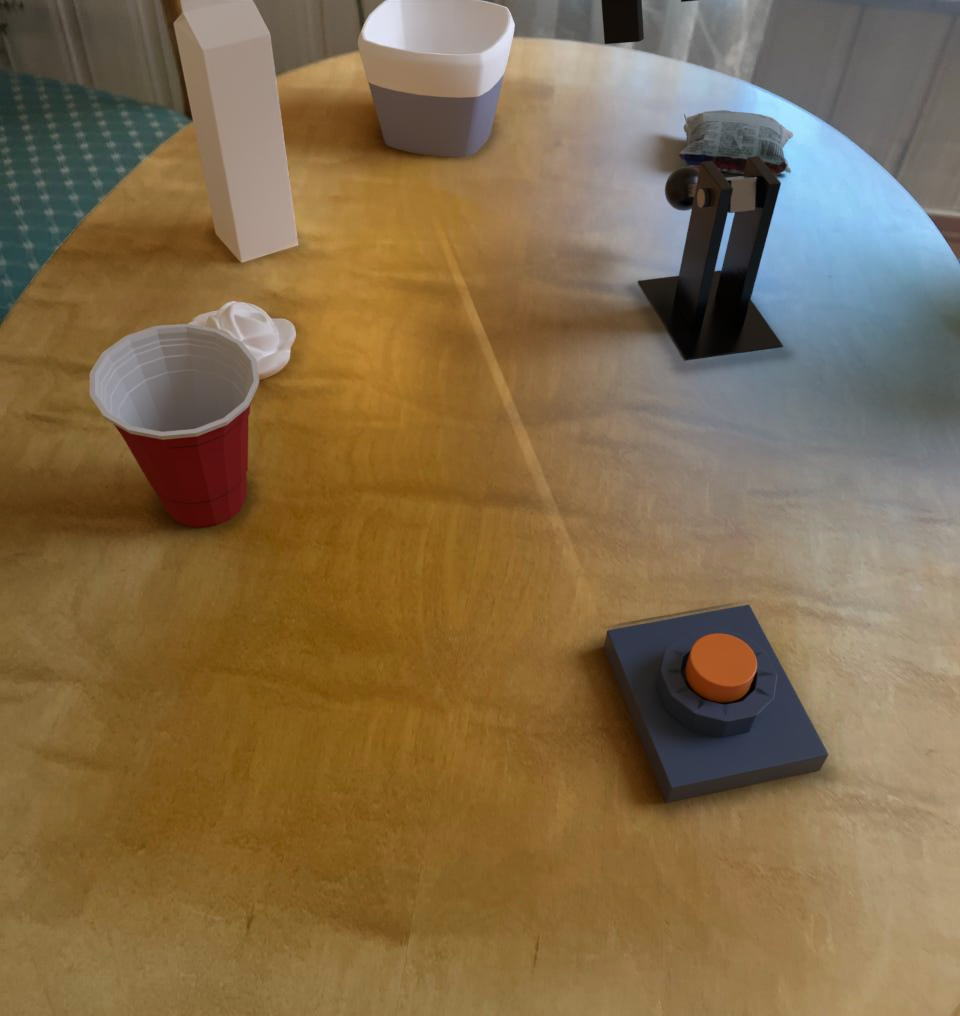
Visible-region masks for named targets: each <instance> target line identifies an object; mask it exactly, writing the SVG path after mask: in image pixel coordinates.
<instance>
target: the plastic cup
mask: <svg viewBox="0 0 960 1016" xmlns="http://www.w3.org/2000/svg"><path fill="white" fill-rule="evenodd" d="M259 384H260V380H259V375H258V368H257V360H256V359H255V358H254V356H253V355H252V354H251V353H250V351H249V350H248V349H247V348H246V347H245V345H244V344H243V343H242V342H241V341H239V340H237V339H235V338H233V337H231V336H230V335H228V334H226V333H224V332H222V331H220V330H218V329H214V328H208V327H203V326H197V325H192V324H188V323H179V324H178V323H177V324H162V325H154V326H151V327H148V328H145V329H142V330H139V331H136V332H133V333H130V334H127V335H125V336H124V337H123V336H122V338H120V339H119V340H117V341H116V342H114V343H113V344H112V345H110V346H109V347H108V348H106V349H105V350H104V351H102V352H101V354H100V356H99V357H98V358H97V361H96V362H95V364H94V366H93V367H92V368H91V370H90V372H89V397H90V398H91V400H92V401H93V402H94V403H93V404H95V406H96V407H97V408H98V410H99V412H100V413H101V414H102V417H104V419H105V420H106V421H108V422H109V423H111V424H113V426H114V427H115V429H116V430H117V431H118V433H119V434H120V436H121V437H122V439H123V440H124V442H125V444H126V446H127V447H128V449H129V450H130V452H131V454H132V457H134V460H135V461H136V463H137V464H138V467H139V468H140V470H141V472H142V473H143V475H144V477H145V479H146V480H147V482H148V484H149V485H150V487H151V488H152V489H153V491H154V492H155V494H156V495H157V497H158V499H159V501H160V502H161V505H162V506H163V508H164V510H165V511H166V512H167V514H168V515H169V516H170V518H172V519H173V520H174V521H176V522H178V523H179V524H182V525H183V526H186V527H192V528H200V529H203V528H208V527H209V528H210V527H216V526H218V525H221V524H223V523H226V522H227V521H230V520H232V519H233V518H234V517H235V516H236V515H237V514H238V513H240V512H241V510H242V509H243V506H244V504H245V502H246V499H247V497H248V491H247V490H248V489H247V488H248V487H247V485H248V484H247V483H248V482H247V472H248V471H249V417H250V414H251V404H252V401H253V398H254V397H255V394H256V392H257V389H258V387H259V386H260V385H259Z"/></svg>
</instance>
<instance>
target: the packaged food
mask: <svg viewBox="0 0 960 1016" xmlns="http://www.w3.org/2000/svg"><path fill="white" fill-rule="evenodd" d="M683 117H684V121H685V123H684V125H683V131H684V133H685V135H686V144H687V146H686V147H685V148H684V149H682V150H680V152H678V153H677V156H679V157H680V159H682V160H683V161H684V162H686V164H687V165H688V166H690V167H694V168H696V169H697V170H700V164H701V162H708V161H712V162H713V163H714V164H715V166H716V167H717V168H718V169H719V171H720V172H721V173H723V172H724V173H728V174H735V175H742V176H743V175H744V170H745V166H746V162H747V158H748V157H755V156H759V157H760V158H761V160H762V161H763V162H764V163H765V164H766V166H767V167H768V168H769V169H770V170H771V172H772V173H773V174H774V175H775V176H777V175H779V174H782V173H784V172H786V173H787V174H791V173H792V170H791V167H790V165H789V163H788V161H787V159H786V158H785V154H784V147H785V145H787V143H788V141H789V140H791V139H792V138H793V137H794V132H793V131H791V130H789V129H787V128H786V127H785V126H784V125H783V124H782V123H781V124H780V123H779V122H778V121H777V120H776V119H775V118H773V117H771V116H768V115H764V114H759V113H752V112H743V111H731V110H726V109H725V110H724V109H720V110H708V111H703V112H698V113H696V114H694V115H690V116H686V112H684V113H683Z"/></svg>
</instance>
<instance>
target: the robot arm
mask: <svg viewBox="0 0 960 1016" xmlns="http://www.w3.org/2000/svg"><path fill="white" fill-rule="evenodd" d="M695 1H698V0H680V3H684V2H685V3H686V2H695ZM600 2H601V14H602V15H601V17H602V28H603V41H604V45H612V44H613V45H614V44H625V43H626V44H628V43H639V42H642V41H644V39H645V37H644V36H645V35H644V17H643V0H600Z"/></svg>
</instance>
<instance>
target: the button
mask: <svg viewBox="0 0 960 1016" xmlns="http://www.w3.org/2000/svg"><path fill="white" fill-rule="evenodd" d="M756 670H757V660H756V656H755V654H754V652H753V651H752V649H751V648H750V647H749V646H748V645H747V644H746V643H745V642H744V641H742V640H740V639H739V638H737V637H734V636H731V635H728V634H720V633H718V634H710V635H706V636H704V637H702V638H700V639H699V640H697V641H696V642H695V643H694V645H693V646H692V648H691V651H690V655H689V658H688V661H687V664H686V668H685V675H686V679H687V682H688V684H689V685H690V687H691V688H692V689H693V690H694V691H695V692H696V693H697V694H698V695H700V696H701V697H703V698H705V699H707V700H710V701H714V702H721V703H726V702H732V701H735V700H738V699H739V698H741V697H743V696H744V695H745V694H746V693H747V691H748V690H749V688H750V686H751V683H752V681H753V678H754V676H755V673H756Z"/></svg>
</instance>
